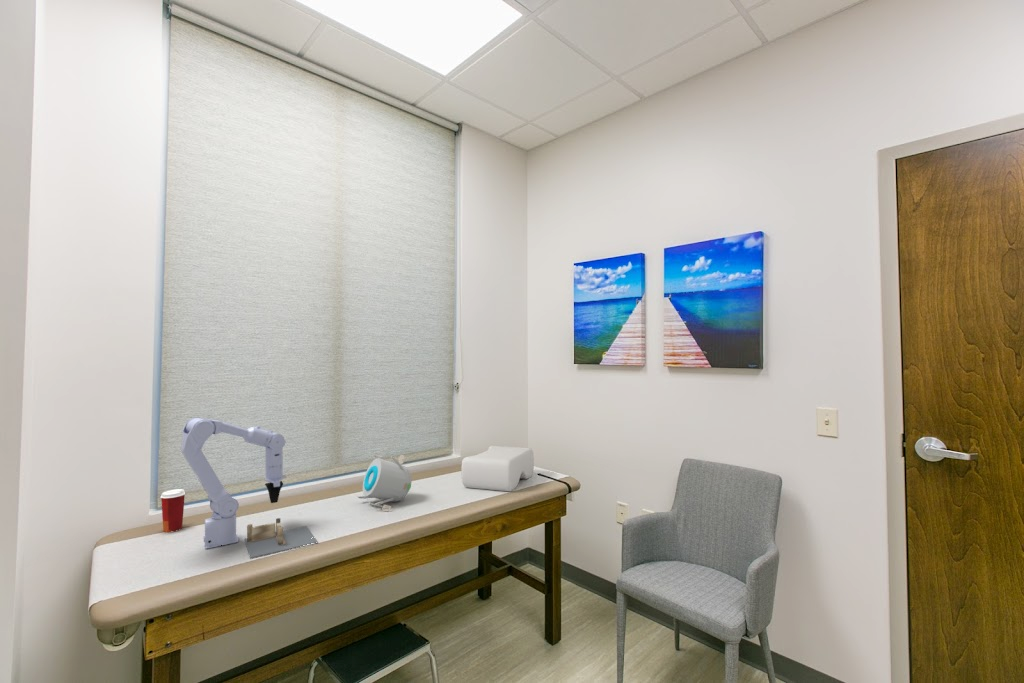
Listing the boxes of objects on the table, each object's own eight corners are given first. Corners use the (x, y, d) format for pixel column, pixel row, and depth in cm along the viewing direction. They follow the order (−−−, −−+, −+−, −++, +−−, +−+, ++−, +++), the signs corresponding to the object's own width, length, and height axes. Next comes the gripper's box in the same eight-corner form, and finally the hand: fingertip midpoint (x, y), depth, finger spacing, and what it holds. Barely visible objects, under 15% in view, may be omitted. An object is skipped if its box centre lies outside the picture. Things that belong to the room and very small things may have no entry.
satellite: (428, 462, 199) (404, 457, 219) (387, 450, 189) (365, 446, 208) (411, 516, 192) (388, 506, 211) (368, 507, 181) (347, 497, 201)
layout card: (250, 558, 144) (250, 557, 144) (244, 539, 160) (244, 538, 160) (318, 543, 156) (318, 541, 156) (306, 526, 171) (306, 525, 171)
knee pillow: (509, 494, 208) (509, 461, 209) (460, 489, 217) (460, 458, 218) (534, 475, 241) (533, 447, 241) (490, 471, 250) (490, 444, 250)
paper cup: (189, 525, 175) (189, 488, 176) (178, 532, 168) (178, 493, 168) (166, 526, 174) (167, 489, 175) (154, 534, 167) (155, 495, 167)
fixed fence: (247, 542, 156) (247, 526, 157) (246, 540, 158) (246, 524, 158) (275, 536, 161) (275, 520, 161) (274, 534, 163) (274, 519, 163)
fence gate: (275, 533, 163) (275, 518, 163) (280, 532, 164) (280, 517, 164) (278, 544, 153) (278, 528, 153) (283, 543, 154) (283, 527, 154)
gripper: (289, 467, 168) (289, 505, 167) (282, 460, 180) (282, 495, 179) (267, 470, 164) (267, 508, 163) (262, 463, 176) (262, 499, 175)
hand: (274, 502), depth 171 cm, fingers closed
